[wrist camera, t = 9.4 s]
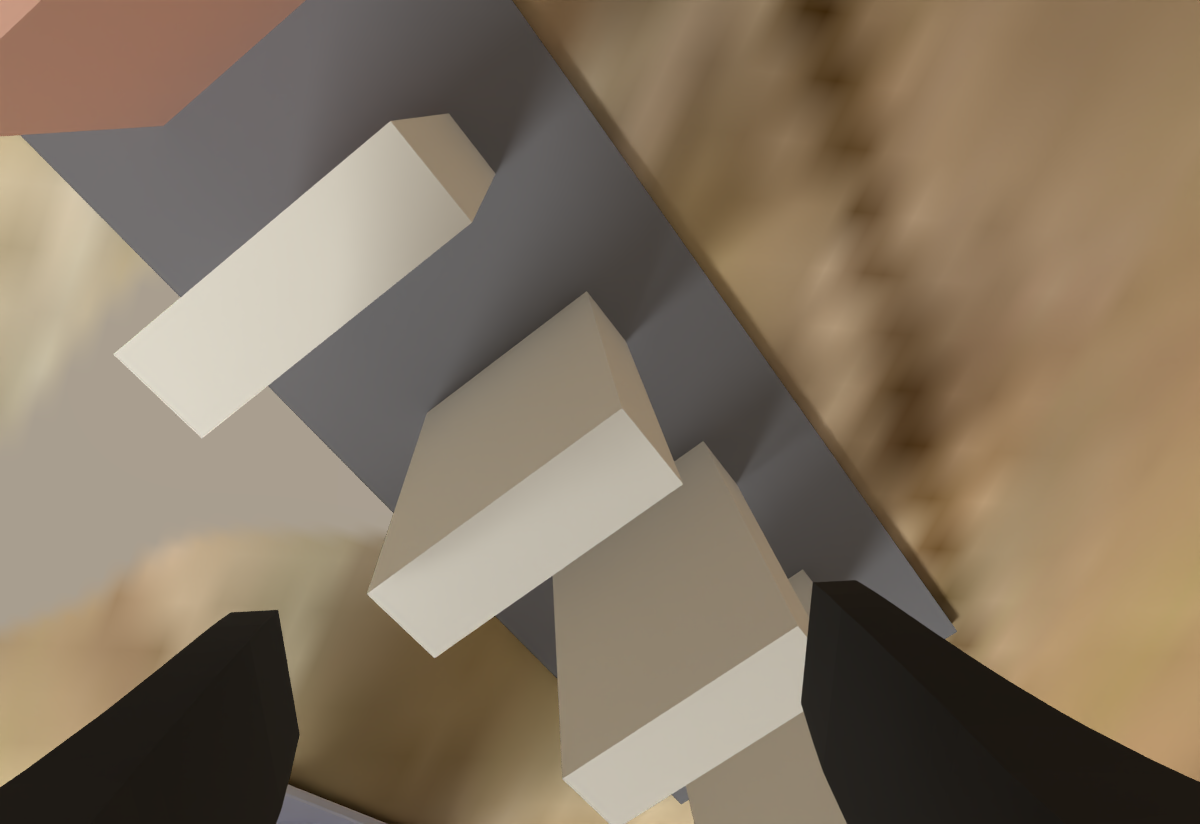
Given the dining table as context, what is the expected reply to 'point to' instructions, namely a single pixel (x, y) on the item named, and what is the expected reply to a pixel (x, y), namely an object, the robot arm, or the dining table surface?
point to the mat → (477, 264)
